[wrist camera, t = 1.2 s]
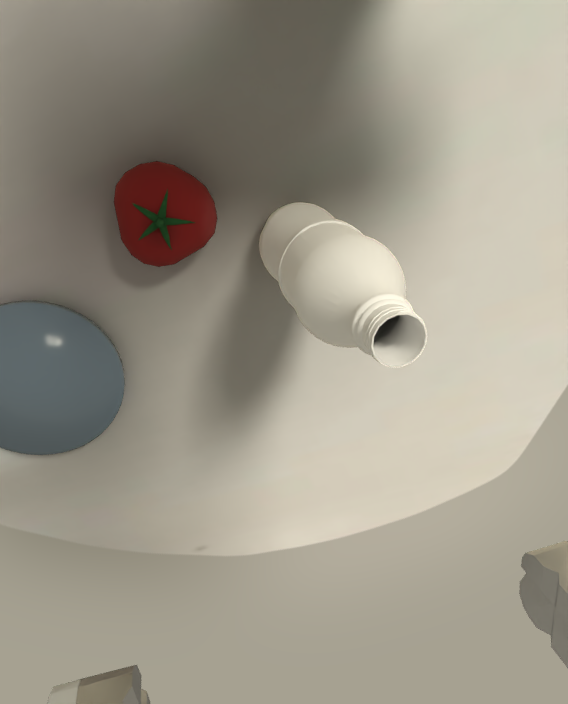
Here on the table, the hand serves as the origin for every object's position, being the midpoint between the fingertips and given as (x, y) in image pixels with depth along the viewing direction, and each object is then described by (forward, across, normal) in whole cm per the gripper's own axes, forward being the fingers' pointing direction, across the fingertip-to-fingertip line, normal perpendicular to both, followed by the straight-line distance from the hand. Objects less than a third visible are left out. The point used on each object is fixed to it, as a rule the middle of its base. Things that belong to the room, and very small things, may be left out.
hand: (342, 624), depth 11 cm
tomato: (+41, +2, -3) cm, 41 cm away
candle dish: (+41, +16, +10) cm, 45 cm away
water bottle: (+41, -9, +1) cm, 42 cm away
